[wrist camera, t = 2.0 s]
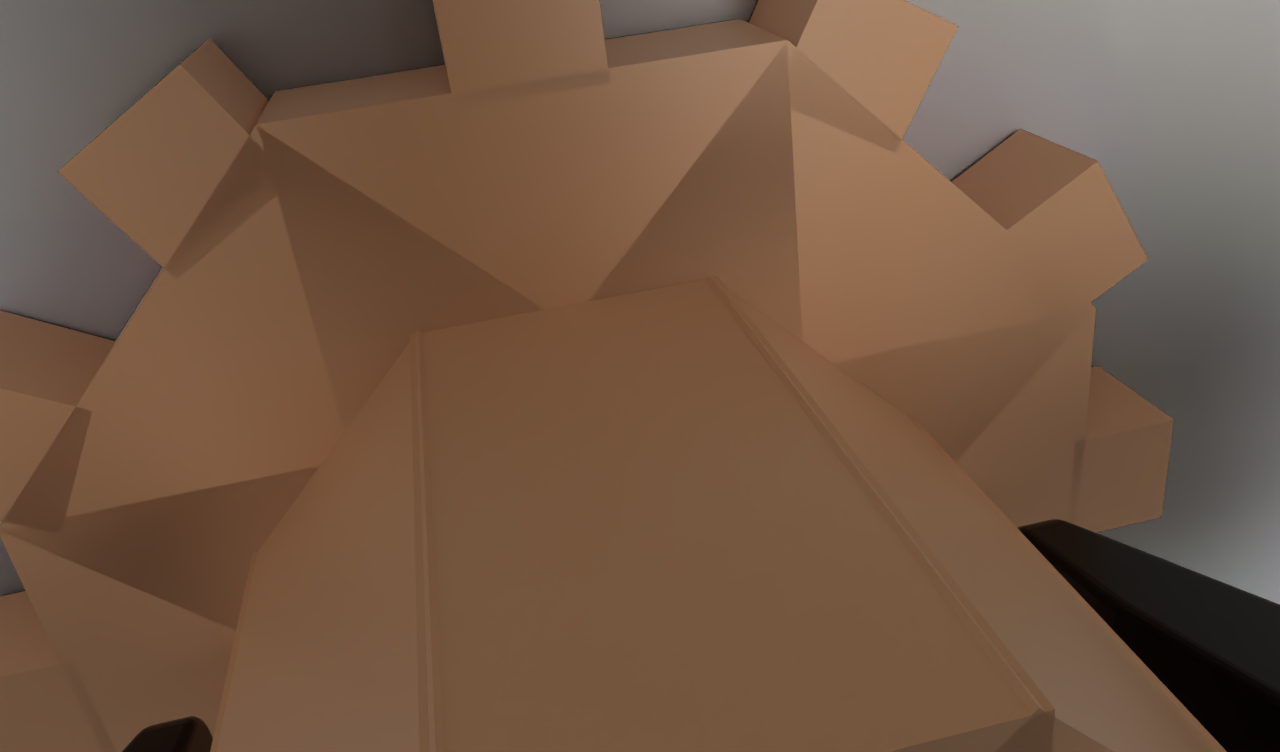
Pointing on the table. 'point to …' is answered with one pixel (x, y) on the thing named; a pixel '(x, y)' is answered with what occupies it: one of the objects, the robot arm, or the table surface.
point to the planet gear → (581, 411)
